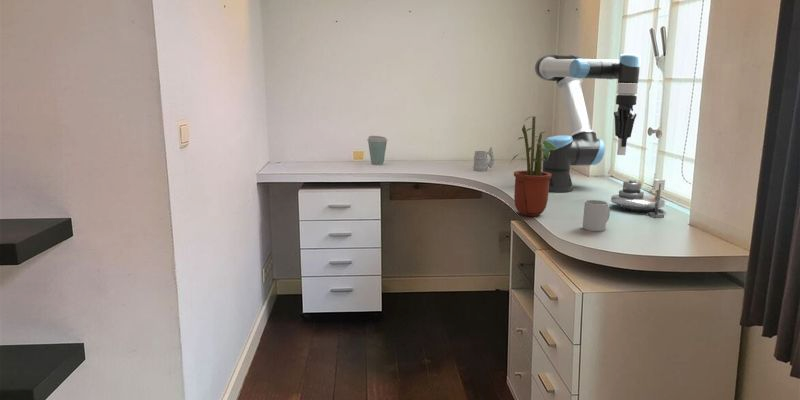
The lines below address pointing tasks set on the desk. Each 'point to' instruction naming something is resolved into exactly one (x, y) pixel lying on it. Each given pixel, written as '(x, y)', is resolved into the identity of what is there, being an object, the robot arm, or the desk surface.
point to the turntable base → (636, 209)
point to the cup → (595, 215)
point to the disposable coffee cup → (377, 149)
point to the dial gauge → (657, 197)
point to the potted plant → (532, 177)
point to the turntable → (638, 201)
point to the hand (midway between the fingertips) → (621, 154)
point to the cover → (631, 190)
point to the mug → (483, 160)
